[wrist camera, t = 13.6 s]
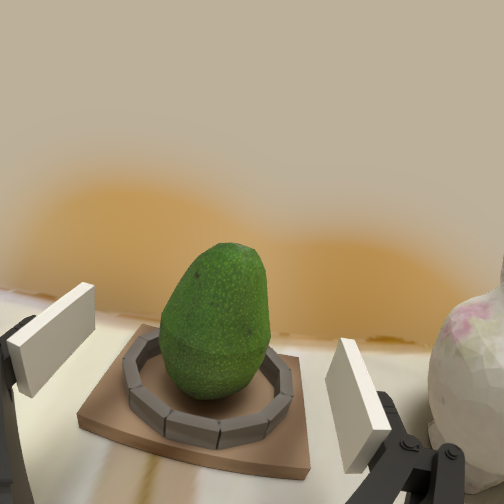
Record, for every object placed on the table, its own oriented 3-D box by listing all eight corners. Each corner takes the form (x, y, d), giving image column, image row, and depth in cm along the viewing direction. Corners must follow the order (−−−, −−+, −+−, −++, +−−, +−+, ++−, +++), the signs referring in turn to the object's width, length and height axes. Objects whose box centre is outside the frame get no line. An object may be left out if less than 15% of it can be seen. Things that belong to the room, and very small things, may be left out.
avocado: (271, 388, 25) (309, 252, 22) (213, 438, 19) (246, 274, 16) (199, 347, 29) (219, 222, 26) (134, 380, 23) (142, 230, 19)
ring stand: (79, 427, 18) (72, 393, 17) (141, 335, 31) (143, 306, 30) (303, 479, 18) (320, 451, 17) (294, 369, 31) (303, 340, 30)
